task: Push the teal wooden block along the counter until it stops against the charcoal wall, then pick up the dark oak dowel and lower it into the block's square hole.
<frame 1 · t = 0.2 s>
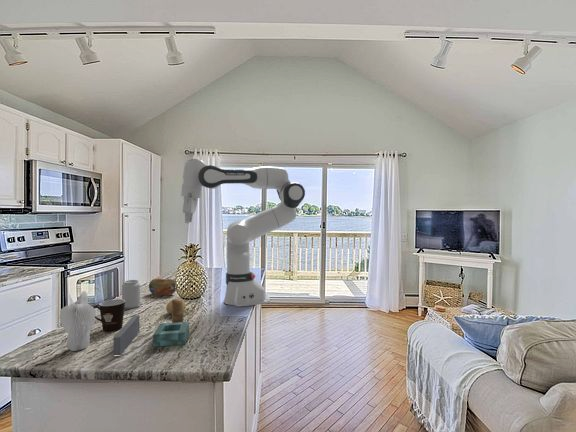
hand: (188, 222, 147), 39 cm above the counter, tool pointing down, fingers open, 8 cm apart
tin: (163, 294, 164), on the counter
wall: (127, 342, 105), on the counter
coffee mug: (109, 328, 118), on the counter
dowel: (177, 325, 121), on the counter
shell sculpture: (79, 349, 101), on the counter
can: (131, 307, 144), on the counter
block: (172, 333, 108), point 2 cm above the counter, slide at 8.0 cm
onion: (176, 313, 135), on the counter
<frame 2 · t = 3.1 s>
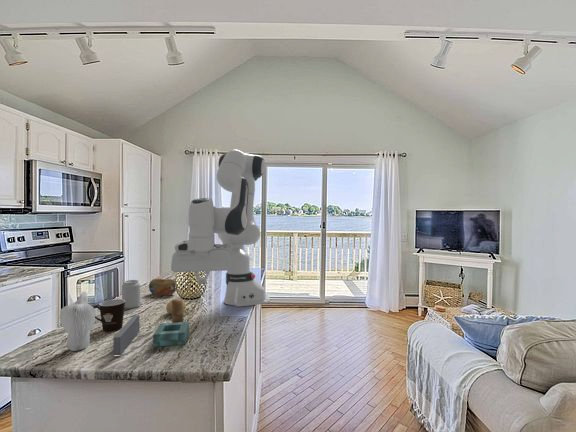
hand: (202, 283, 109), 19 cm above the counter, tool pointing down, fingers closed
nothing on the counter moved.
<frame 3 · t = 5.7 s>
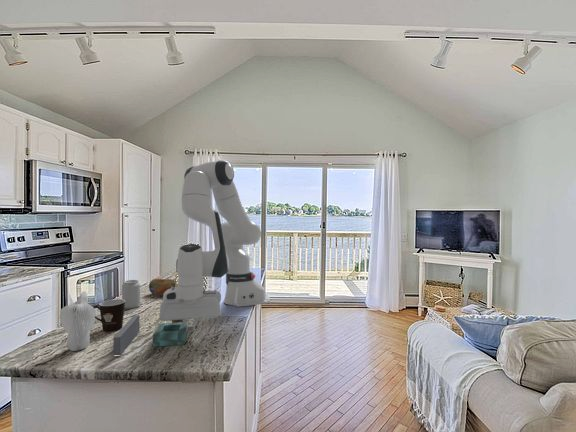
hand: (190, 330, 109), 3 cm above the counter, tool pointing down, fingers closed
block: (171, 333, 108), point 2 cm above the counter, slide at 7.8 cm, touching gripper
everything else where it was.
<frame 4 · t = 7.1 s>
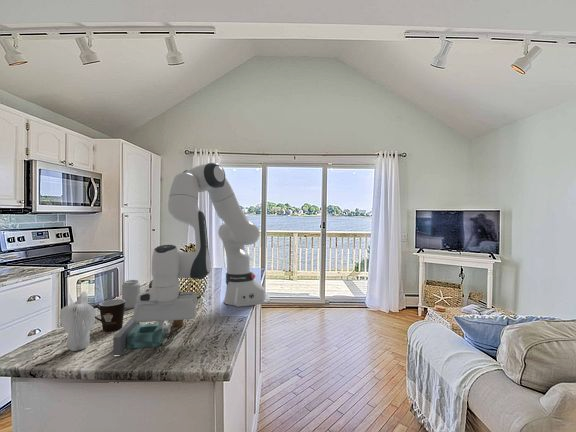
hand: (166, 332, 107), 3 cm above the counter, tool pointing down, fingers closed
block: (147, 335, 106), point 2 cm above the counter, slide at -0.1 cm, touching gripper
everything else where it was.
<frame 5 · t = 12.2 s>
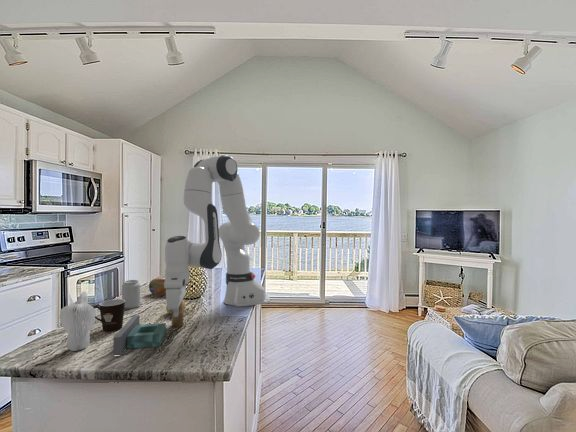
hand: (177, 313, 120), 5 cm above the counter, tool pointing down, fingers closed on dowel, 4 cm apart
dowel: (177, 325, 121), on the counter, touching gripper
block: (147, 335, 106), point 2 cm above the counter, slide at 0.0 cm
everything else where it was.
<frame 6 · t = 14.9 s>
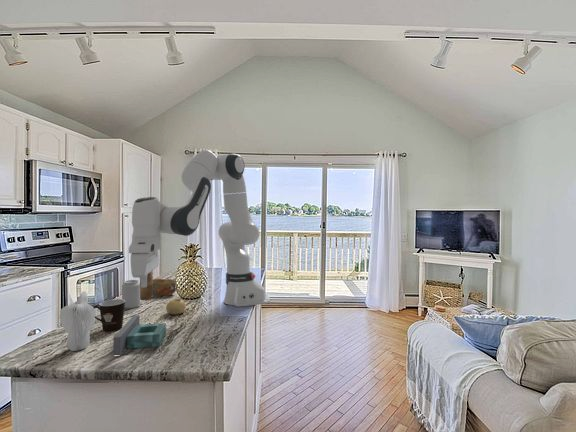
hand: (146, 285, 106), 19 cm above the counter, tool pointing down, fingers closed on dowel, 4 cm apart
dowel: (146, 298, 106), point 15 cm above the counter, touching gripper
everything else where it was.
when the fingers open (6 cm above the counter, at t = 17.7 s): dowel drops 1 cm, resting in block.
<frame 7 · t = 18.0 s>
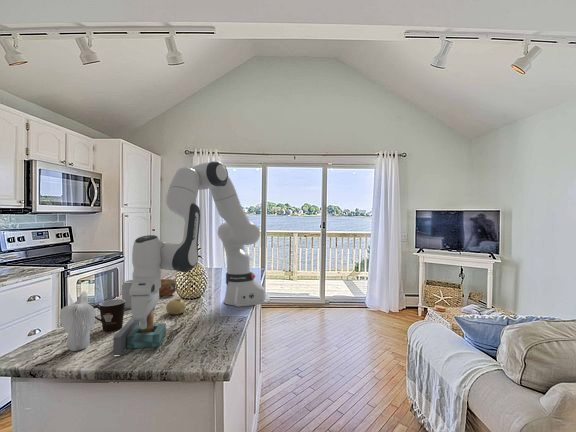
hand: (147, 323, 106), 6 cm above the counter, tool pointing down, fingers open, 7 cm apart
dowel: (147, 341, 106), resting in block
everything else where it was.
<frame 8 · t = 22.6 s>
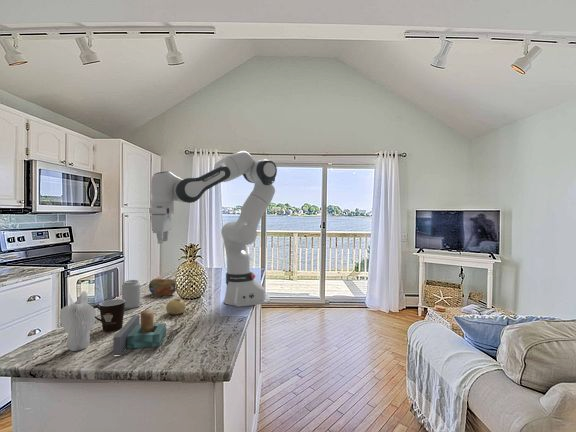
hand: (162, 242, 132), 31 cm above the counter, tool pointing down, fingers open, 8 cm apart
nothing on the counter moved.
at the end: block slide at 0.0 cm; dowel 0.1 cm from the block (horizontally); dowel resting in block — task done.
